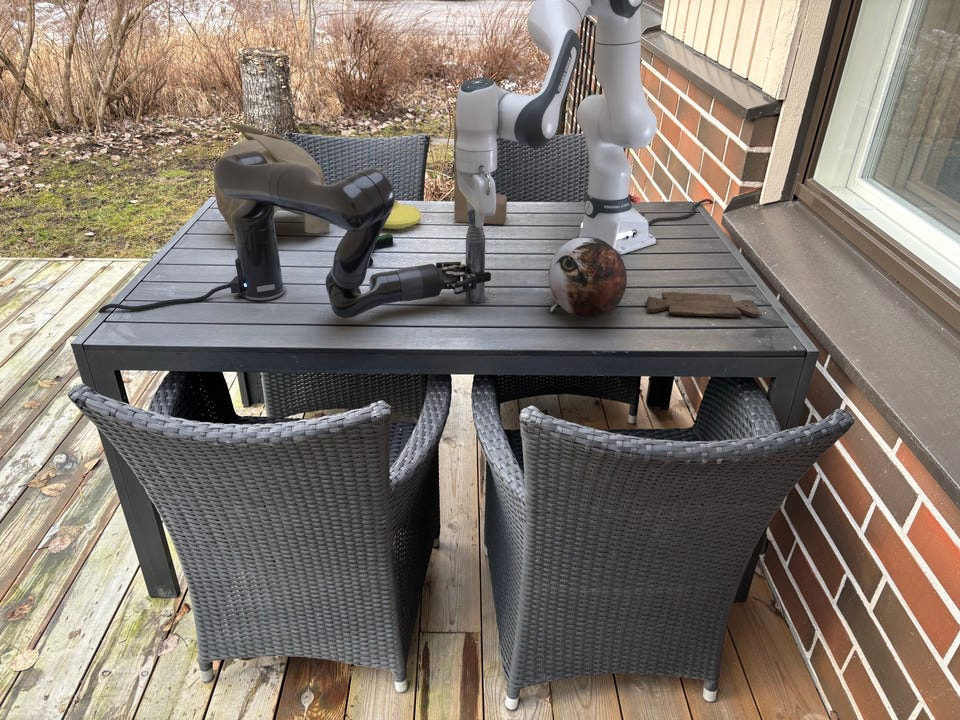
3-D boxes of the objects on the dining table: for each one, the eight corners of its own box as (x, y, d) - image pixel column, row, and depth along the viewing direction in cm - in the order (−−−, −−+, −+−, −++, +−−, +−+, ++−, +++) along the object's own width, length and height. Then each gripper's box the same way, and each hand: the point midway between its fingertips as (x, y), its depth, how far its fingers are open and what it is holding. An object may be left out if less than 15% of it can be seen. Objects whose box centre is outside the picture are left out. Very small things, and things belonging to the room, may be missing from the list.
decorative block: (503, 225, 212) (507, 121, 197) (454, 222, 214) (453, 119, 199) (506, 217, 219) (509, 115, 204) (458, 214, 221) (458, 113, 205)
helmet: (343, 239, 203) (337, 131, 188) (240, 258, 188) (224, 142, 173) (305, 212, 222) (297, 112, 207) (209, 227, 207) (192, 120, 192)
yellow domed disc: (376, 214, 219) (375, 191, 216) (426, 217, 218) (426, 194, 214) (362, 232, 206) (360, 208, 202) (415, 235, 204) (415, 212, 201)
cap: (467, 224, 158) (467, 215, 157) (467, 218, 161) (467, 209, 160) (484, 224, 158) (484, 215, 157) (484, 218, 161) (484, 209, 160)
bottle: (464, 303, 168) (465, 217, 157) (465, 295, 171) (466, 210, 161) (484, 304, 168) (485, 217, 157) (484, 295, 171) (486, 211, 161)
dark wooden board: (642, 297, 172) (648, 316, 163) (643, 291, 171) (649, 310, 162) (751, 300, 171) (762, 319, 162) (752, 293, 170) (764, 313, 161)
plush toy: (524, 268, 172) (583, 208, 164) (577, 314, 177) (637, 258, 168) (521, 307, 153) (588, 241, 144) (581, 357, 157) (649, 296, 149)
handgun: (350, 260, 182) (332, 238, 193) (351, 270, 183) (333, 248, 194) (409, 250, 188) (388, 230, 200) (409, 261, 190) (389, 240, 201)
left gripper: (426, 280, 154) (499, 268, 159) (406, 255, 165) (474, 246, 171) (427, 311, 158) (498, 298, 163) (407, 285, 169) (474, 275, 175)
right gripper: (504, 173, 145) (502, 237, 152) (478, 147, 162) (478, 206, 169) (474, 175, 143) (473, 240, 150) (451, 149, 160) (452, 208, 167)
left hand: (485, 272), depth 167 cm, fingers closed on bottle, 4 cm apart
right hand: (475, 222), depth 160 cm, fingers closed on cap, 4 cm apart
